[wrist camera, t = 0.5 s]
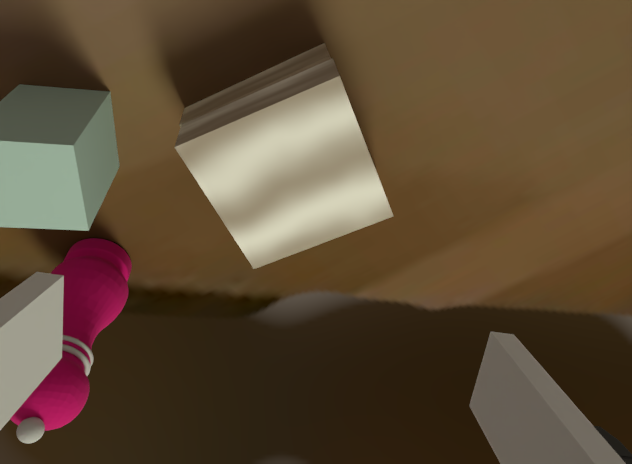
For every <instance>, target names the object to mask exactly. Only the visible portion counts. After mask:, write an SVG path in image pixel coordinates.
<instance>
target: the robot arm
mask: <svg viewBox="0 0 632 464" xmlns="http://www.w3.org/2000/svg"><path fill="white" fill-rule="evenodd" d="M63 293H64V275H56V274H49V273H41V272H36V273H35V274H34V275H32V276H31V277H29V278H28V279H27V280H25V281H24V282H23V283H21V284H20V285H18V286H17V287H16V288H14V289H13V290H12V291H10V292H9V293H7V294H6V295H5V296H3V297H2V298H1V299H0V430H1V429H2V428H3V426H4V425H5V424H6V423H7V422H8V421H9V419H10V418H11V417H12V416H13V415H14V414H15V412H16V411H17V410H18V409H19V408H20V407H21V405H22V404H23V403H24V402H25V401H26V400H27V398H28V397H29V396H30V395H31V394H32V392H33V391H34V390H35V389H36V388H37V387H38V385H39V384H40V383H41V382H42V381H43V380H44V378H45V377H46V376H47V375H48V374H49V373H50V371H51V370H52V369H53V368H54V367H55V365H56V364H57V363H58V362H59V361H60V360H61V358H62V339H63ZM470 408H471V409H472V412H473V413H474V415H475V417H476V419H477V421H478V423H479V425H480V426H481V428H482V430H483V432H484V434H485V436H486V437H487V439H488V441H489V443H490V445H491V447H492V449H493V451H494V452H495V454H496V456H497V458H498V460H499V461H500V463H501V464H632V454H631V453H630V452H629V451H628V450H627V449H626V448H625V446H624V445H623V444H622V443H621V442H620V441H619V440H617V439H616V438H615V437H613V436H612V435H610V434H609V433H608V432H606V431H605V430H604V429H602V428H601V427H598V426H593V425H592V424H591V423H590V422H589V420H588V419H587V418H586V417H585V416H584V415H583V414H582V413H581V411H580V410H579V409H578V408H577V407H576V406H575V405H574V403H573V402H572V401H571V400H570V399H569V397H568V396H567V395H566V394H565V393H564V392H563V391H562V389H561V388H560V387H559V386H558V385H557V384H556V383H555V382H554V380H553V379H552V378H551V377H550V376H549V375H548V373H547V372H546V371H545V370H544V369H543V368H542V366H541V365H540V364H539V363H538V362H537V361H536V359H535V358H534V357H533V356H532V355H531V354H530V353H529V351H528V350H527V349H526V348H525V347H524V346H523V345H522V343H521V342H520V341H519V340H518V339H517V338H516V337H515V335H513V334H505V333H497V332H491V333H490V336H489V340H488V343H487V346H486V350H485V353H484V357H483V360H482V364H481V367H480V371H479V374H478V378H477V382H476V385H475V388H474V392H473V395H472V398H471V402H470Z"/></svg>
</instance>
